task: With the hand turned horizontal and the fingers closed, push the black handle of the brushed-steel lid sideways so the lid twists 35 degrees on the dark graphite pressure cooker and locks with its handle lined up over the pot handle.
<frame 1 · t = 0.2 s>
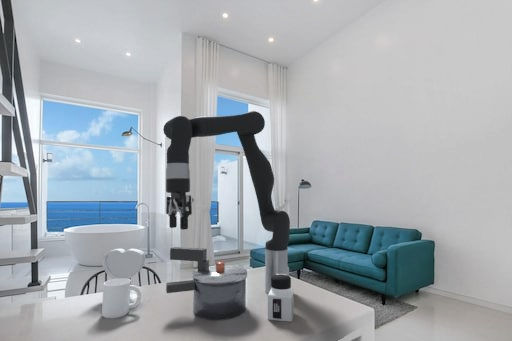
hand: (178, 228, 91), 29 cm above the table, tool pointing down, fingers open, 8 cm apart
heart sculpture: (122, 296, 111), on the table
cooker lid: (207, 262, 101), point 16 cm above the table, hinge at -35.0°
container: (281, 316, 93), on the table
mug: (121, 314, 95), on the table
cooker pot: (219, 308, 99), on the table
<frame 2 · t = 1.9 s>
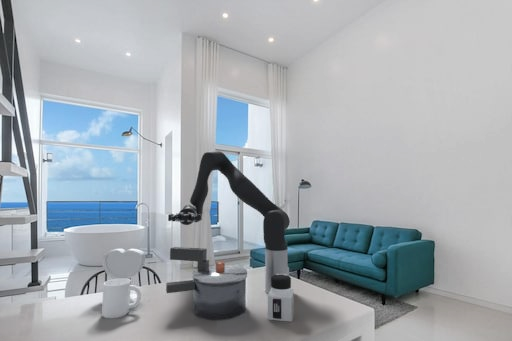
hand: (182, 218, 113), 30 cm above the table, tool horizontal, fingers open, 7 cm apart
nothing on the table moved.
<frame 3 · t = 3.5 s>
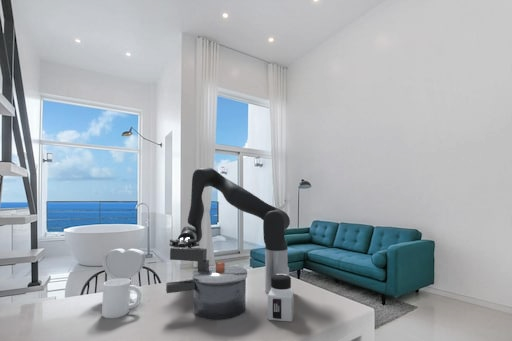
hand: (181, 246, 112), 19 cm above the table, tool horizontal, fingers closed
nothing on the table moved.
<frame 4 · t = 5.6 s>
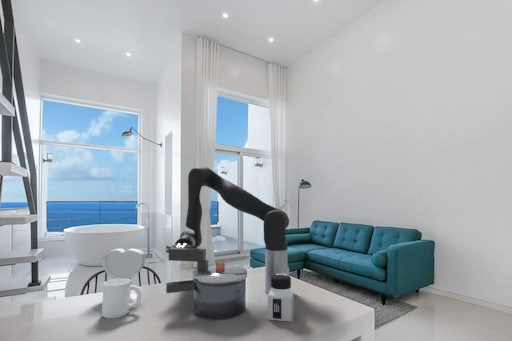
hand: (177, 253, 105), 18 cm above the table, tool horizontal, fingers closed
cooker lid: (207, 262, 101), point 16 cm above the table, hinge at -31.4°, touching gripper
everything else where it was.
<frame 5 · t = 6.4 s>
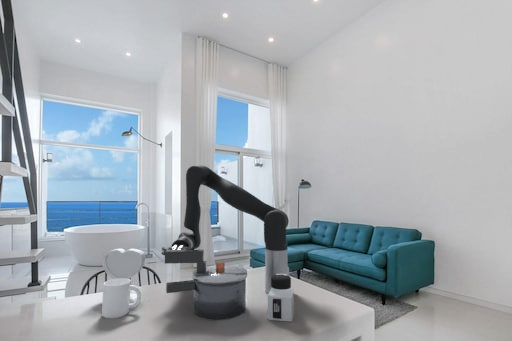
hand: (172, 255, 101), 18 cm above the table, tool horizontal, fingers closed
cooker lid: (206, 263, 100), point 16 cm above the table, hinge at -16.7°, touching gripper
everything else where it was.
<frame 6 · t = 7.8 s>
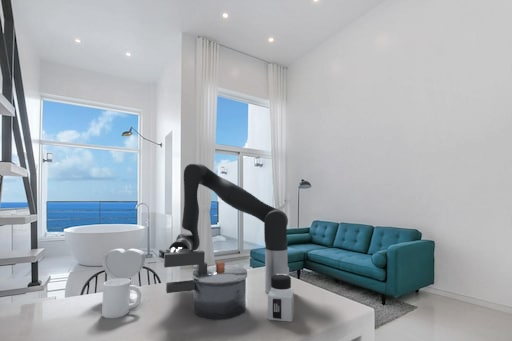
hand: (170, 258, 96), 18 cm above the table, tool horizontal, fingers closed
cooker lid: (207, 264, 98), point 16 cm above the table, hinge at 0.5°, touching gripper
everything else where it was.
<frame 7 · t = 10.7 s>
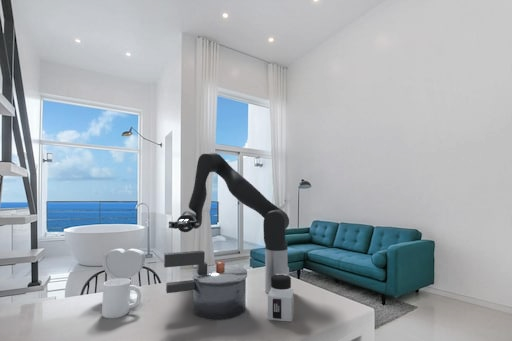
hand: (180, 226, 108), 28 cm above the table, tool horizontal, fingers closed
cooker lid: (207, 264, 98), point 16 cm above the table, hinge at 0.6°
everything else where it was.
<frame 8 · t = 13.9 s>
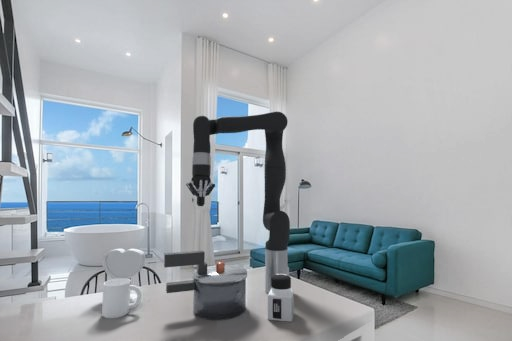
hand: (200, 206, 117), 35 cm above the table, tool pointing down, fingers closed
nothing on the table moved.
at the end: cooker lid at +1° (first picture: -35°) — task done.
